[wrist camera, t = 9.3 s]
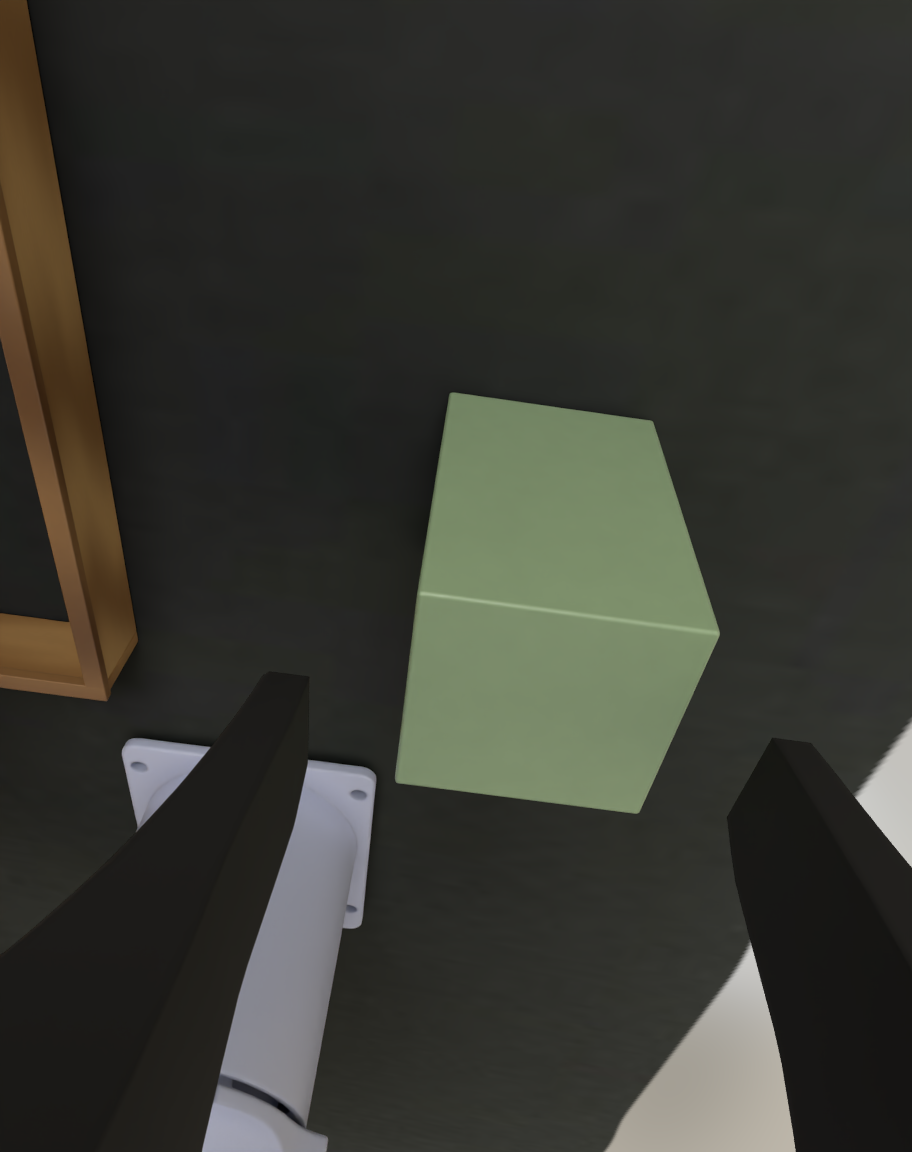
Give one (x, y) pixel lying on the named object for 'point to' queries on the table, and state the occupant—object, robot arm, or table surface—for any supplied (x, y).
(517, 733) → the block
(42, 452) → the wooden frame
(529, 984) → the table surface
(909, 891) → the robot arm
